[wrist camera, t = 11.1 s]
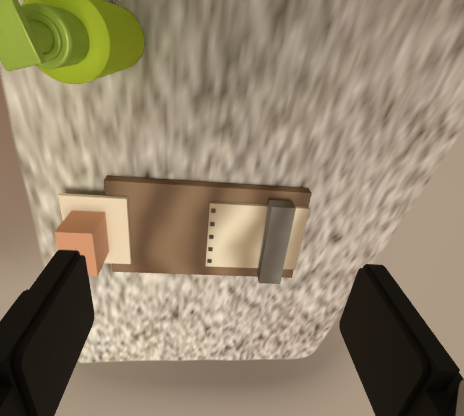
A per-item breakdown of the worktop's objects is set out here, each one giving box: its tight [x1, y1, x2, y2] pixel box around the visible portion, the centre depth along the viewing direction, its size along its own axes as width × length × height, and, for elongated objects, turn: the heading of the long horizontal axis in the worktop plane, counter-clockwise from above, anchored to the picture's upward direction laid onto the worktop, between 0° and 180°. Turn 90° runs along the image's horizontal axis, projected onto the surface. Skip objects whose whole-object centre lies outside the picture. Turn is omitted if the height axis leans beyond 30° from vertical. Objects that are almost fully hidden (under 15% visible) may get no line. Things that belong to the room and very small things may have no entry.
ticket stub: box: [55, 193, 132, 276], centre depth 39 cm, size 8×10×6 cm
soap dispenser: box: [0, 0, 144, 84], centre depth 24 cm, size 6×7×20 cm
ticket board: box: [104, 176, 311, 284], centre depth 43 cm, size 26×14×4 cm, turn 85°
